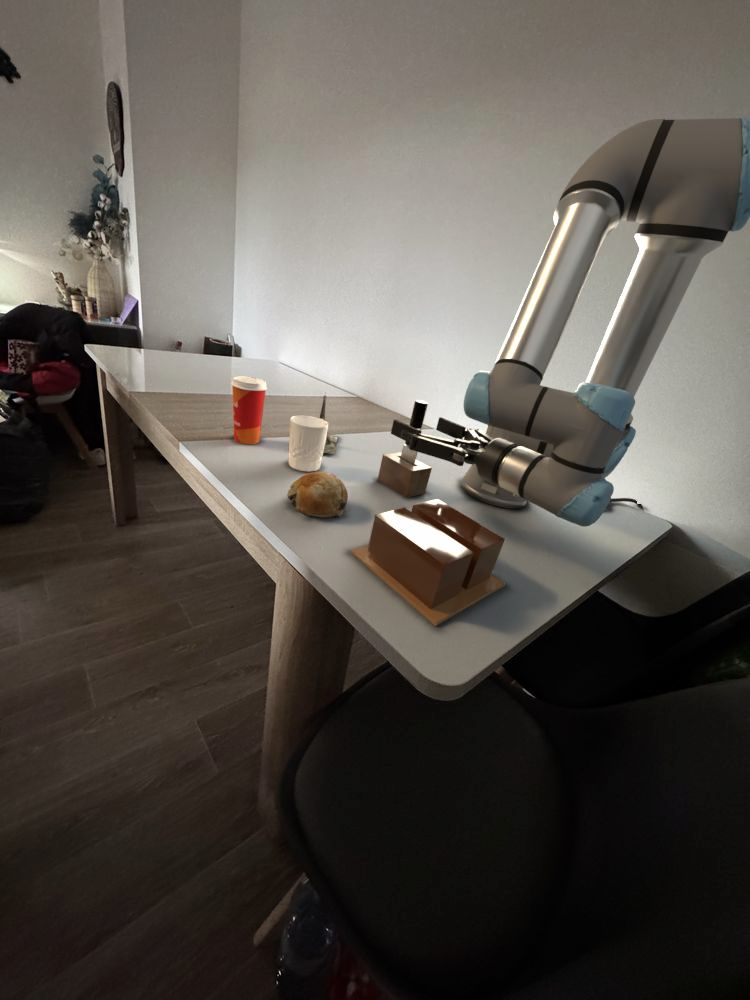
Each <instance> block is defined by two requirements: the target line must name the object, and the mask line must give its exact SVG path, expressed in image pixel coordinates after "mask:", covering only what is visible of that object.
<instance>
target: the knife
mask: <svg viewBox="0 0 750 1000" xmlns="http://www.w3.org/2000/svg"><path fill="white" fill-rule="evenodd" d="M428 405H429V402H427V401H425V400H421V399H415V400H414V403H413V407H412V412H411V417H410V420H409V424H408V425H409V426H411V427H414V428H416V429H420V431H422V429H423V425H424V421H425V417H426V414H427V411H428V410H427V409H428ZM409 444H410V443H409V442H407V441H404V444H402V449H401V452H402V453H401V457H400V458H401V459H403V460H404V461H406V462H408V463H410V464H412V465H413V466H414V464H415V460H417V456H418V452H417V451H413V450H410V449H409Z"/></svg>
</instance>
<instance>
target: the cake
mask: <svg viewBox="0 0 750 1000" xmlns="http://www.w3.org/2000/svg"><path fill="white" fill-rule="evenodd" d="M505 539H506V538H504V537H503V536H501V535H500V534H498V533H496V532H494V531H493V530H491V529H489V528H487V527H486V526H484V525H483V524H482V523H479V522H477V521H475V520H474V519H472V518H470V517H469V516H467V515H466V514H464V513H462V512H461V511H460V510H457V509H456V508H454V507H452V506H450V505H449V504H447V503H446V502H444V501H442V500H440V499H438V498H436V499H432V500H427V501H424V502H419V503H415V504H413V505H412V506H411V510H409V509H408V508H407V507H400V508H396V509H392V510H388V511H385V512H381V513H376V514H374V518H373V524H372V528H371V532H370V537H369V541H368V545H364V546H362V547H359V548H358V547H357V548H355V549H352V551H351V554H352V555H353V556H354V557H355V558H356V559H357V560H359V561H360V562H361V563H362V564H363V565H364V566H365V567H366V568H368V569H369V570H370V571H371V572H372V573H373V574H375V575H376V576H377V577H378V578H379V579H380V580H382V581H383V582H384V583H385V584H386V585H387V586H389V587H390V588H391V589H392V590H393V591H394V592H395V593H396V594H398V596H400V597H401V598H403V599H404V600H405V601H406V602H407V604H409V605H411V606H412V607H413V608H414V609H415V610H416V611H417V612H419V614H421V615H422V616H423V617H424V618H425V619H426V620H428V622H430V623H431V624H433V626H435V627H438V625H440V624H442V623H444V622H445V621H447V620H449V619H450V618H452V617H454V616H456V615H457V614H459V613H461V612H462V611H464V610H466V609H467V608H469V607H471V606H472V605H474V604H477V603H478V602H480V601H481V600H482V599H485V598H487V597H488V596H489V595H491V594H493V593H495V592H497V591H498V590H500V589H501V588H503V587H505V582H504V581H502V580H501V579H500V578H498V577H497V576H495V575H494V574H493V571H494V568H495V565H496V564H497V561H498V558H499V556H500V553H501V551H502V548H503V546H504V544H505Z"/></svg>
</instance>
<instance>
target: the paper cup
mask: <svg viewBox="0 0 750 1000" xmlns="http://www.w3.org/2000/svg"><path fill="white" fill-rule="evenodd" d="M230 386H232V415H233V417H232V419H233V421H232V422H233V438H234V439H233V440H234V441H235V442H237V443H239V444H242V445H256V444H258V443H259V442H260V438H261V431H262V422H263V415H264V406H265V401H266V400H265V399H266V393H267V390H268V386H267V383H266V381H265V379H261V378H256V377H253V376H251V377H250V376H246V375H245V376H243V375H238V376H237V375H236V376H234V377H233V378H232V381H231V383H230Z"/></svg>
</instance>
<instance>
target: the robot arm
mask: <svg viewBox="0 0 750 1000" xmlns="http://www.w3.org/2000/svg"><path fill="white" fill-rule="evenodd" d="M749 219H750V118H747V117H745V116H741V117H736V118H734V117H733V118H692V119H691V118H689V119H684V118H683V119H666V118H654V119H648V120H644V121H641V122H637V123H635V124H633V125H631V126H629V127H627V128H625V129H623V130H621V131H620V132H618V133H617V134H616V135H614V136H613V137H611V138H610V139H609V140H607V141H606V142H605V143H603V144H602V145H601V146H600V147H598V148H597V149H596V150H595V151H594V152H593V153H592V154H591V155H590V156H589V157H588V158H587V159H586V160H585V161H584V162H583V164H581V165H580V167H579V168H578V169H577V170H576V172H574V174H573V176H572V177H571V178H570V180H569V182H568V183H567V184H566V186H565V188H564V190H563V191H562V194H561V195H560V198H559V199H558V202H557V204H556V207H555V210H554V212H553V223H554V225H555V226H554V228H553V230H552V232H551V234H550V237H549V239H548V242H547V243H546V245H545V248H544V251H543V253H542V255H541V257H540V260H539V262H538V264H537V267H536V268H535V271H534V272H533V276H532V278H531V280H530V283H529V285H528V287H527V289H526V292H525V294H524V296H523V298H522V301H521V303H520V305H519V308H518V310H517V312H516V314H515V317H514V319H513V322H512V323H511V326H510V328H509V331H508V333H507V335H506V337H505V339H504V342H503V344H502V346H501V348H500V350H499V353H498V355H497V357H496V360H495V362H494V366H493V368H492V370H491V371H490V370H478V371H476V372H475V373H474V375H473V376H472V378H471V379H470V381H469V383H468V384H467V388H466V391H465V394H464V398H463V404H462V405H463V407H462V408H463V411H464V415H465V416H466V417H467V418H468V419H472V420H474V421H476V422H478V423H482V424H484V425H487V428H486V431H485V432H484V431H483V430H481V429H480V428H474V429H473V428H471V427H466V426H464V425H461V424H459V423H456V422H454V421H451V420H449V419H446V418H444V417H442V416H440V417H439V416H438V421H437V424H436V427H435V430H436V431H438V432H439V433H442V434H445V435H447V436H449V437H451V438H454V440H452V439H448V438H444V437H440V436H435V435H432V434H431V435H430V434H427V433H422V430H421V431H420V429H416V428H414V427H411V426H409V425H410V424H407V423H405V422H402V421H401V420H398V419H393V422H392V426H391V431H390V434H391V435H393V436H395V437H396V438H399V439H401V440H403V441H404V442H406V441H407V442H409V443H410V444H409V449H410V450H413V451H417V453H421V454H423V455H427V456H430V457H432V458H436V459H440V460H443V461H446V462H449V463H452V464H454V465H456V466H457V467H463V466H464V463H465V464H468V465H470V467H469V469H467V471H466V472H465V473H464V475H463V477H462V480H461V488H462V489H463V490H464V492H465V493H467V494H468V495H469V496H471V497H473V498H474V499H476V500H478V501H481V502H483V503H486V504H489V505H490V506H491V505H492V506H494V507H495V506H496V507H499V508H505V509H520V508H523V507H525V506H526V505H527V503H528V502H530V503H531V504H534V505H535V506H537V507H539V508H541V509H543V510H544V511H546V512H549V513H551V514H552V515H555V516H556V517H557V518H561V519H562V520H565V521H567V522H570V523H572V524H575V525H577V526H580V527H585V528H586V527H589V526H592V525H593V524H595V523H596V522H597V521H598V520H599V519H600V518H601V516H602V515H603V513H604V512H605V511H606V509H608V508H609V507H611V503H619V502H629V503H632V504H633V503H634V504H635V505H637V507H638V508H640V509H644V507H643V503H641V504H637V501H638V500H637V499H634V498H631V497H630V498H629V497H616V498H615V497H614V498H612V496H613V494H614V490H615V487H614V485H613V482H610V481H608V480H607V479H606V478H607V477H608V476H610V475H611V474H612V472H613V471H614V470H615V469H616V468H617V466H618V465H619V464H620V462H621V461H622V459H624V457H625V456H626V453H627V452H628V450H629V447H630V446H631V444H633V441H634V439H635V436H636V433H637V430H636V428H634V427H633V426H631V425H632V422H633V421H634V416H633V414H632V412H633V409H634V407H635V405H636V399H635V396H636V394H637V393H638V390H639V388H640V386H641V384H642V382H643V380H644V378H645V376H646V374H647V373H648V370H649V368H650V366H651V363H652V362H653V360H654V358H655V355H656V354H657V351H658V349H659V347H660V345H661V343H662V341H663V339H664V337H665V336H666V333H667V331H668V329H669V327H670V325H671V323H672V321H673V319H674V317H675V315H676V313H677V311H678V309H679V307H680V305H681V303H682V301H683V298H684V297H685V294H686V292H687V290H688V289H689V286H690V285H691V282H692V280H693V279H694V277H695V275H696V273H697V270H698V268H699V266H700V264H701V262H702V261H703V258H705V257H706V256H707V255H708V254H710V253H711V252H713V251H715V250H717V249H718V248H720V247H721V246H722V245H723V243H724V241H725V240H726V237H727V235H728V233H729V232H731V233H734V232H738V231H741V230H742V229H743V228H744V227H745V226H746V224H747V223H748V221H749ZM620 221H626V222H632V223H638V227H637V230H636V232H635V234H634V239H635V241H636V243H637V246H638V248H639V251H638V254H637V257H636V259H635V261H634V264H633V266H632V269H631V271H630V273H629V276H628V278H627V281H626V283H625V286H624V288H623V291H622V293H621V296H620V297H619V300H618V303H617V305H616V308H615V309H614V312H613V315H612V318H611V320H610V322H609V325H608V326H607V329H606V331H605V335H604V337H603V340H602V341H601V345H600V347H599V349H598V351H597V353H596V356H595V358H594V361H593V364H592V366H591V369H590V371H589V374H588V376H587V378H586V380H585V381H583V382H580V383H579V384H578V386H577V388H576V390H574V392H572V391H566V390H562V389H557V388H553V387H549V386H546V385H541V383H542V382H543V380H544V378H545V375H546V373H547V371H548V369H549V366H550V364H551V362H552V359H553V357H554V355H555V352H556V351H557V348H558V346H559V343H560V341H561V339H562V336H563V334H564V332H565V330H566V328H567V325H568V323H569V320H570V318H571V316H572V313H573V311H574V309H575V306H576V304H577V302H578V300H579V297H580V295H581V293H582V290H583V289H584V286H585V284H586V281H587V279H588V277H589V275H590V272H591V271H592V268H593V265H594V263H595V261H596V259H597V256H598V254H599V251H600V249H601V247H602V246H603V245H602V244H603V243H604V241H605V238H607V237H609V236H610V235H612V233H614V231H615V230H616V229H617V227H618V225H619V223H620ZM636 500H637V501H636Z"/></svg>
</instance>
